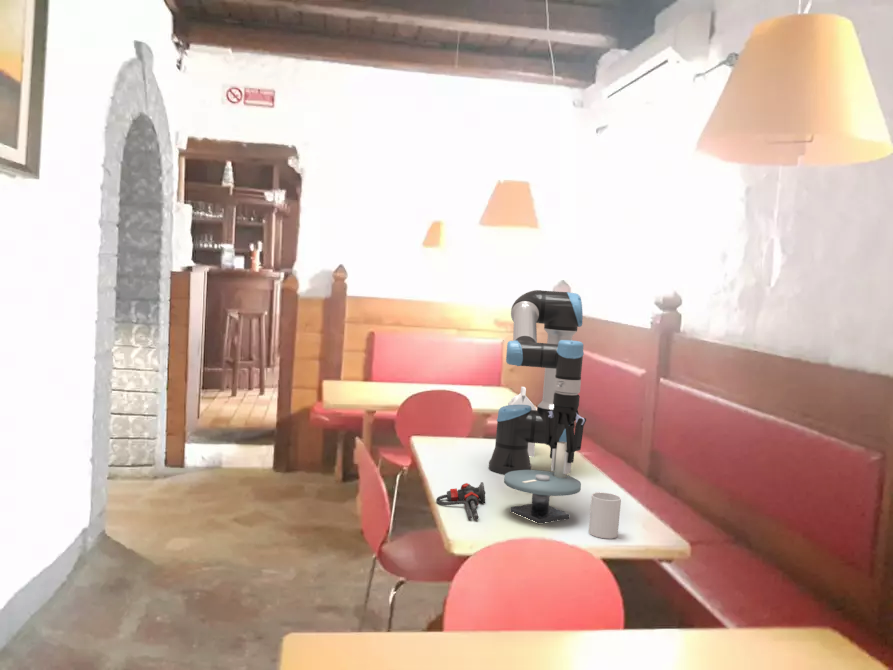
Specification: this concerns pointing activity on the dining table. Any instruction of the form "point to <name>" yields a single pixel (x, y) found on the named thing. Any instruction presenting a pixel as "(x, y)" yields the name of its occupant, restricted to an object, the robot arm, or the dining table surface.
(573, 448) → the robot arm
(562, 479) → the handwheel
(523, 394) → the milk
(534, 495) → the square pedestal base
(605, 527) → the mug
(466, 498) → the dark grey forked tool
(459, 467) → the dining table surface
